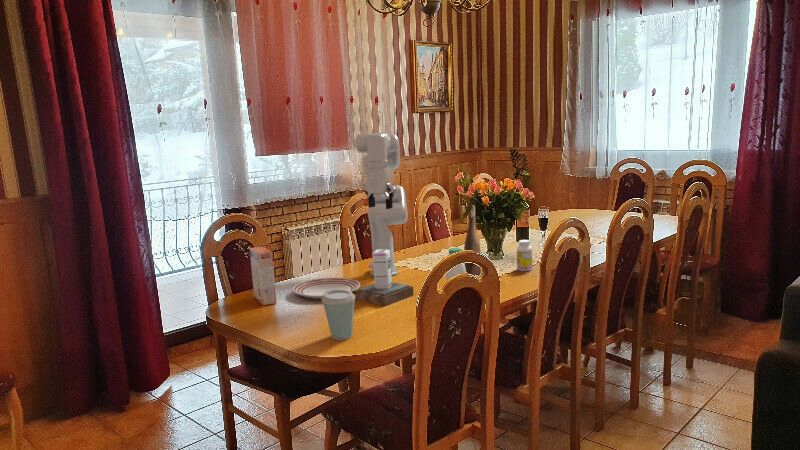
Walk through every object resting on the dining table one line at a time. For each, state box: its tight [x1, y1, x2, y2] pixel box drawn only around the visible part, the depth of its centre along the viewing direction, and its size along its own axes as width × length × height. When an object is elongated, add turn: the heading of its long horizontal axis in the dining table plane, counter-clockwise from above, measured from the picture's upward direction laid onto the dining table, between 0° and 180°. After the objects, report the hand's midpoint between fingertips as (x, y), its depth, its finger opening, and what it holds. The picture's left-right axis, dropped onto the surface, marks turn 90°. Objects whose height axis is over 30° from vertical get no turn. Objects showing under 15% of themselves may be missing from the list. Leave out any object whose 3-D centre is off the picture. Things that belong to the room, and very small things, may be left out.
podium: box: [354, 281, 414, 307], centre depth 232 cm, size 16×16×4 cm
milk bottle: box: [445, 247, 466, 281], centre depth 220 cm, size 8×8×20 cm
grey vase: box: [463, 204, 482, 276], centre depth 246 cm, size 11×12×32 cm
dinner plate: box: [292, 277, 361, 300], centre depth 243 cm, size 28×27×3 cm
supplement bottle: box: [516, 239, 533, 272], centre depth 260 cm, size 7×7×13 cm
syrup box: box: [371, 249, 393, 289], centre depth 230 cm, size 6×6×14 cm
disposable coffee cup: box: [321, 289, 356, 341], centre depth 190 cm, size 11×11×15 cm
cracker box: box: [249, 246, 277, 307], centre depth 235 cm, size 14×6×21 cm, turn 27°
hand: (380, 207), depth 239 cm, fingers open, 9 cm apart
